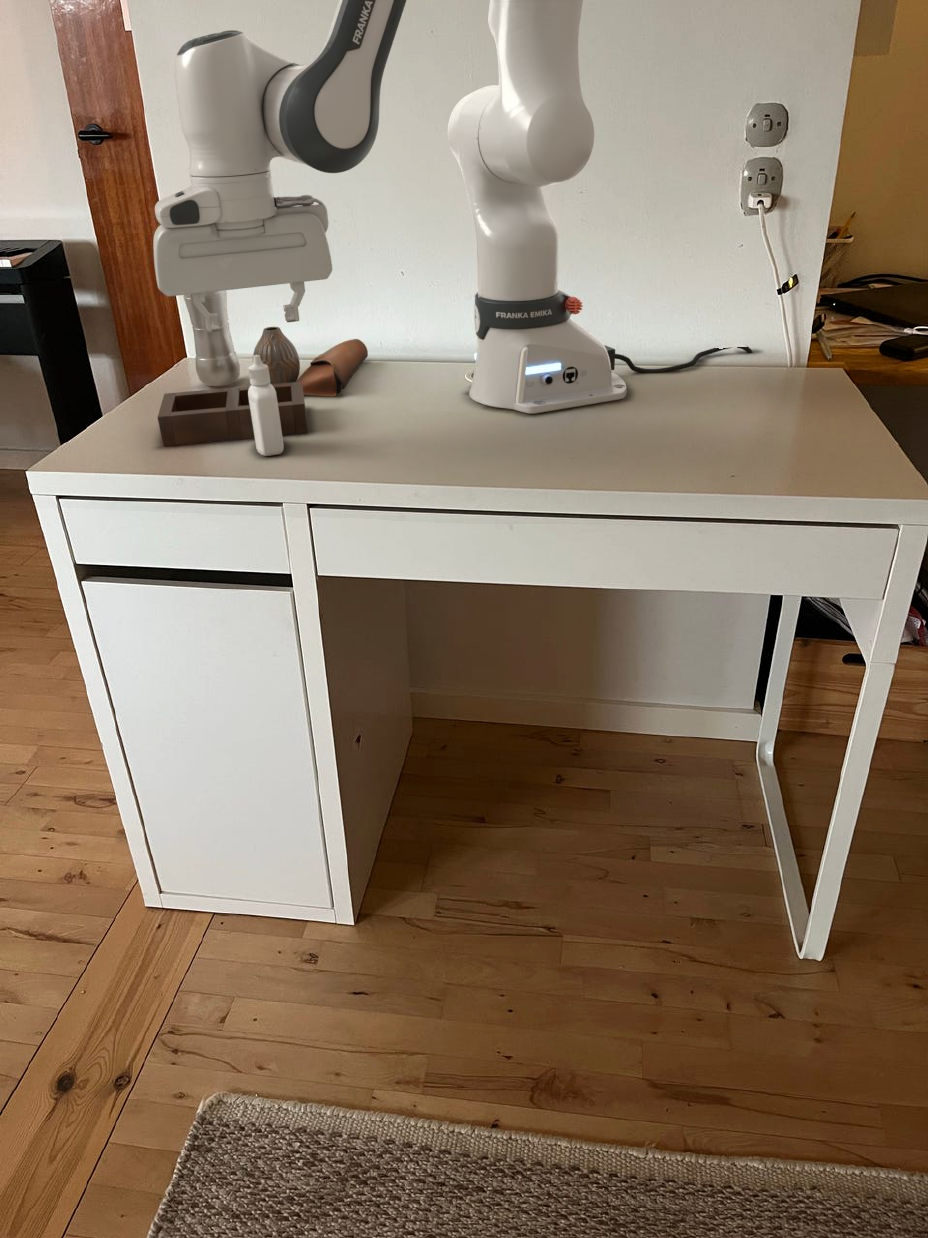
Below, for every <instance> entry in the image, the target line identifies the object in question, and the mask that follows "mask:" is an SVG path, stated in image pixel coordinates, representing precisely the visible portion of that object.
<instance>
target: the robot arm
mask: <svg viewBox="0 0 928 1238" xmlns="http://www.w3.org/2000/svg"><path fill="white" fill-rule="evenodd" d="M583 2H584V0H489V7H488V14H487V21H488V27H489V30H490V33H491V35H492V37H493V39H494V42H495V47H496V55H497V66H498V67H497V68H498V85H497V84H496V85H494V84H493V85H486V86H484V87H480V88H478V89H477V90H474V91H472V92H471V93H468V94H466V95H465V96H464V97H462V98H461V99H460V100H459V101H458V102H457V103H456V105H455V106H454V107H453V110H452V111H451V114H450V116H449V120H448V125H447V140H448V145H449V148H450V150H451V152H452V154H453V156H454V157H455V159H456V161H457V163H458V165H459V168H460V171H461V174H462V178H463V179H462V180H463V183H464V188H465V192H466V196H467V199H468V204H469V208H470V213H471V218H472V222H473V227H474V229H473V230H474V237H475V253H476V254H475V255H476V278H477V279H476V280H477V292H476V293H475V294H474V306H473V315H474V317H473V318H474V322H473V323H474V332H475V335H476V337H477V339H476V341H477V342H476V352H475V353H474V360H475V363H474V369H473V376H472V380H471V385H470V388H469V392H468V395H469V397H470V399H472V400H473V401H474V402H476V403H479V404H480V405H485V406H489V407H493V408H500V409H509V410H514V411H516V412H520V413H525V414H531V415H532V414H540V413H544V412H546V413H547V412H552V411H557V410H563V409H564V410H565V409H571V408H576V407H582V406H588V405H594V404H600V403H606V402H612V401H618V400H622V399H624V398H625V397H626V396H627V394H628V391H627V389H628V388H627V384H626V382H625V381H624V379H622V377H621V376H619V375H618V374H617V373H616V372H613V371H614V370H615V365H616V363H615V362H616V360H619V361H623V362H624V363H626V365H627V367H628V368H629V370H631V371H633V372H635V373H640V374H667V373H671V372H676V371H680V370H684V369H688V368H691V367H693V366H695V365H696V364H697V363H698V361H699V360H700V359H701V358H703V357H705V356H708V355H712V354H714V353H718V352H720V351H724V350H728V349H730V348H723V349H719V348H715V347H713V348H709V349H706V350H703V351H700V352H698V353H696V355H694V357H693V358H692V360H690V361H688V362H686V363H681V364H677V365H673V366H668V367H661V368H644V367H640V366H636V365H635V364H634V363H633V361H632V359H631V358H630V357H628V356H626V355H624V354H620V353H616V349H615V348H614V347H611V346H608V345H605V344H604V343H603V342H602V341H601V340H600V339H598V337H596V336H595V335H593V334H592V333H591V332H590V331H589V330H587V329H586V328H585V327H584V326H582V325H581V324H579V323H578V322H577V321H575V320H574V319H573V318H572V317H571V316H572V315H578V314H580V313H581V311H582V310H583V302H582V301H581V300H580V299H579V298H578V297H576V296H571V295H570V294H568V293H566V292H564V291H562V290H560V289H559V270H560V269H559V265H560V262H559V261H560V257H559V255H560V251H559V250H560V235H559V234H560V233H559V229H558V226H557V224H556V222H555V221H554V219H553V217H552V215H551V213H550V210H549V208H548V205H547V202H546V201H547V200H546V198H545V194H544V193H545V192H544V189H543V187H548V186H553V185H557V184H561V183H564V182H567V181H569V180H572V179H573V178H575V177H576V176H577V175H579V173H581V171H582V170H583V169H584V168H585V167H586V165H587V163H588V162H589V160H590V158H591V156H592V153H593V152H592V151H593V149H594V142H595V126H594V122H593V118H592V116H591V112H590V111H589V109H588V108H587V106H586V103H585V101H584V98H583V94H582V88H581V87H582V86H581V78H580V77H581V76H580V66H579V65H580V63H579V33H580V23H581V17H582V11H583ZM406 3H407V0H338V2H337V6H336V8H335V11H334V15H333V18H332V21H331V25H330V27H329V30H328V34H327V36H326V40H325V43H324V44H323V47H322V49H321V50H320V52H319V53H318V54H317V55H316V57H314V59H313V60H311V61H310V62H309V63H308V64H306V65H305V64H299V63H296V62H295V61H292V60H289V59H287V58H284V57H281V56H279V55H277V54H275V53H273V52H271V51H270V50H267V49H265V48H264V47H262V46H261V45H259V44H258V43H256V42H255V41H253V40H252V39H250V37H248V36H247V35H246V34H245V32H243V31H240V30H233V29H232V30H224V31H221V32H220V31H219V32H213V33H210V34H207V35H203V36H198V37H195V38H192V39H190V40H188V41H186V42H185V43H184V44H183V45H182V46H181V47H180V48H179V50H178V51H177V53H176V56H175V58H176V59H175V65H174V69H175V70H174V71H175V72H174V73H175V75H174V76H175V88H176V98H177V105H178V113H179V120H180V126H181V131H182V135H183V136H184V138H185V140H186V143H187V146H188V150H189V168H188V171H189V179H190V184H191V186H190V187H187V188H185V189H183V190H180V191H178V192H176V193H173V194H171V195H169V196H166V197H164V198H162V199H160V200H158V201H157V202H156V203H155V205H154V214H155V218H156V221H157V222H158V224H159V225H158V226H157V228H156V229H155V232H154V234H153V245H152V246H153V247H152V249H153V264H154V265H153V266H154V272H155V280H156V285H157V288H158V291H160V293H162V294H163V295H164V296H165V297H178V296H184V295H187V294H191V298H192V302H193V304H194V305H195V306H196V307H197V309H198V310H199V311H200V312H201V314H202V315H203V316H204V317H205V323H206V328H207V331H208V332H213V331H220V325H219V318H218V315H217V313H211V314H210V313H209V312H208V311H207V310H206V308H205V307H204V306H203V304H202V303H204V302H205V296H204V293H205V292H215V291H224V290H226V291H231V290H240V289H251V288H258V287H268V286H277V285H286V284H289V286H290V289H291V290H292V291H293V294H292V297H291V300H290V302H289V304H284V305H283V306H282V307H283V311H284V319H285V322H286V323H295V322H300V313H299V307H300V304H301V302H302V300H303V298H304V296H305V293H306V285H305V282H313V281H322V280H323V281H324V280H328V279H329V278H330V276H331V274H332V272H333V262H332V261H333V260H332V255H331V251H330V245H329V242H328V238H327V235H326V233H327V231H328V229H329V214H328V208H327V206H326V205H325V204H324V202H323V201H322V200H320V199H318V198H315V197H314V196H313V195H312V194H303V195H300V196H299V195H298V196H277V197H275V194H274V187H273V179H272V171H271V161H272V160H273V159H275V158H282V159H284V160H290V161H292V162H295V163H298V164H303V165H306V166H309V167H310V168H312V169H314V170H316V171H318V172H322V173H326V174H340V173H344V172H347V171H350V170H352V169H353V168H355V167H357V166H358V165H360V164H361V162H363V161H364V160H365V159H366V158H367V156H368V154H369V153H370V152H371V149H373V146H374V144H375V142H376V138H377V135H378V130H379V123H380V104H381V102H380V101H381V88H382V81H383V76H384V73H385V69H386V65H387V63H388V59H389V56H390V53H391V50H392V46H393V44H394V40H395V37H396V34H397V31H398V28H399V25H400V22H401V20H402V16H403V12H404V9H405V6H406ZM314 203H316V204H314ZM746 346H747V345H746ZM736 349H741V350H742V351H744V352H745V353H747V354H752V353H754V352H753V350H752V349H751V348H750V347H749V346H747V347H737V348H736Z"/></svg>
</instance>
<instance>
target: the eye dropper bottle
mask: <svg viewBox="0 0 928 1238" xmlns="http://www.w3.org/2000/svg"><path fill="white" fill-rule="evenodd" d="M247 369H248V376H249V377H248V378H249V382H250V385H249V386H250V387H249V390H248V398H249V404H250V411H251V417H252V424H253V430H254V437H255V438H254V443H255V449H256V451H257V453H258V454H260V455H261V456H263V457H271V456H277V455H281V454H282V453H283V452H284V448H285V446H284V440H283V439H284V438H283V435H282V430H281V423H280V416H279V409H278V402H277V395H276V391H275V388H274V387H273V386H272V385H271V384H270V376H269V369H268V366H267V365H265V364H263V363H262V362H261V359H260V356H259V355H254V358H253V357H252V364H251V365H250V366H248V368H247Z"/></svg>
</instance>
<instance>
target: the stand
mask: <svg viewBox="0 0 928 1238" xmlns="http://www.w3.org/2000/svg"><path fill="white" fill-rule="evenodd" d="M271 385H272V386H273V387H274V388H275V391H276V395H277V402H278V409H279V416H280V423H281V430H282V436H288V435H300V434H308V433H309V429H308V421H307V420H308V418H307V412H306V403H305V395H304V394H303V386H302V382H292V383H280V384H271ZM250 386H251V385H248V386H236V387H235V386H234V387H224V388H223V387H222V388H213V389H202V390H201V389H200V390H190V391H179V392H177V391H176V392H167V393H166V392H165V393H164V395H163V397H162V401H161V404H160V408H159V411H158V414H157V417H156V418H157V422H158V427H159V433H160V437H161V441H162V446H163V447H173V446H174V447H175V446H183V445H195V444H204V443H205V444H206V443H215V442H216V443H217V442H226V441H236V440H237V441H238V440H247V439H255V437H254V430H253V424H252V417H251V411H250V404H249V398H248V390H249V387H250Z"/></svg>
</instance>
